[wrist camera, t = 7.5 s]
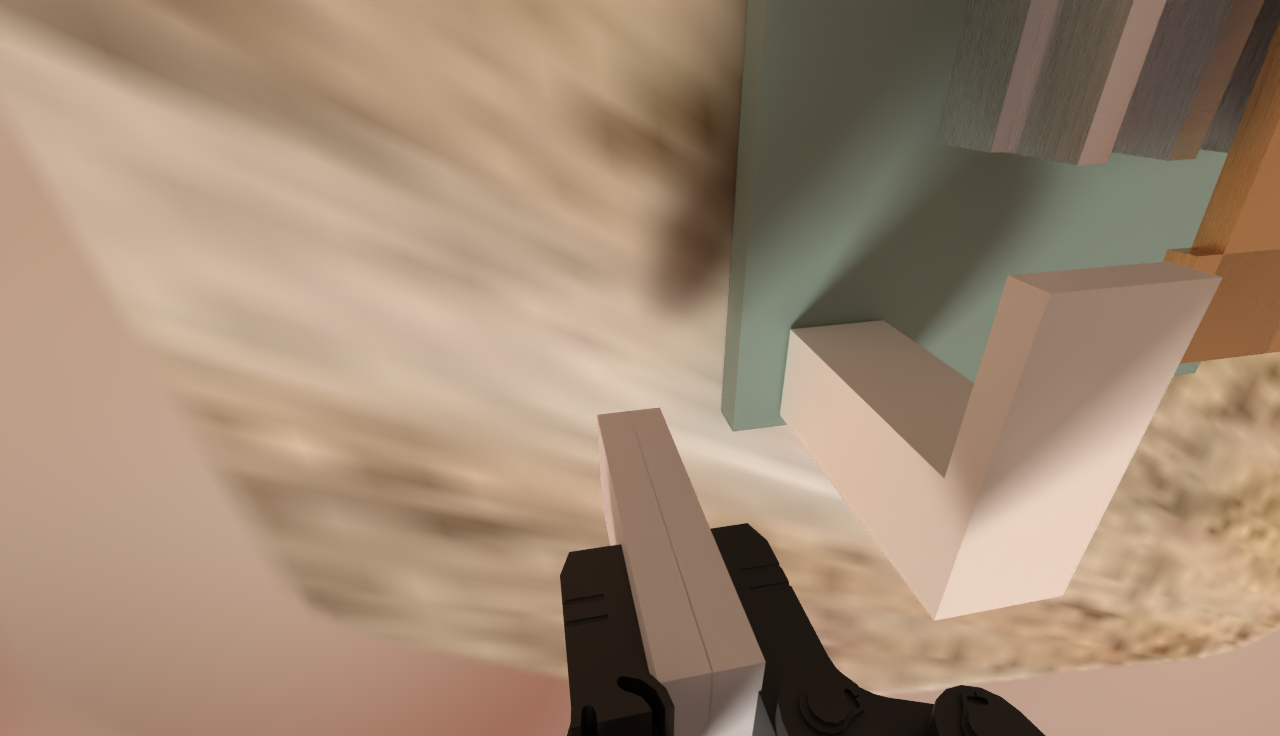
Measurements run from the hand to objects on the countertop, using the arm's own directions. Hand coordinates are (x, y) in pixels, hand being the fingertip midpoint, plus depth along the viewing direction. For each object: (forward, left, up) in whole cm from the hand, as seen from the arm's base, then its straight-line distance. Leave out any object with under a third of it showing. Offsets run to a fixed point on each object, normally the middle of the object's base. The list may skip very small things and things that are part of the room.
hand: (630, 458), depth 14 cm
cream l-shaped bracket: (-2, +7, -3) cm, 8 cm away
